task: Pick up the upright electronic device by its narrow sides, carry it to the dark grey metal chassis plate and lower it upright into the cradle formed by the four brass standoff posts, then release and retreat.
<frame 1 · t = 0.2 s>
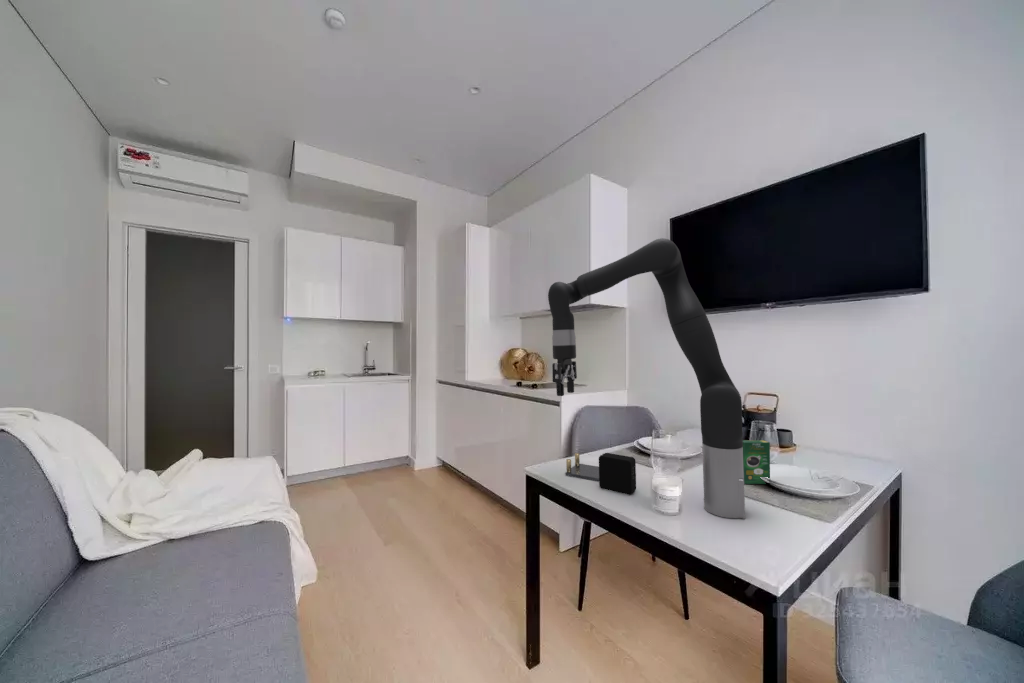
hand: (565, 394, 118), 28 cm above the table, fingers open, 8 cm apart
coffee box: (755, 483, 113), on the table
chassis: (592, 474, 124), on the table
electronic device: (617, 490, 111), on the table
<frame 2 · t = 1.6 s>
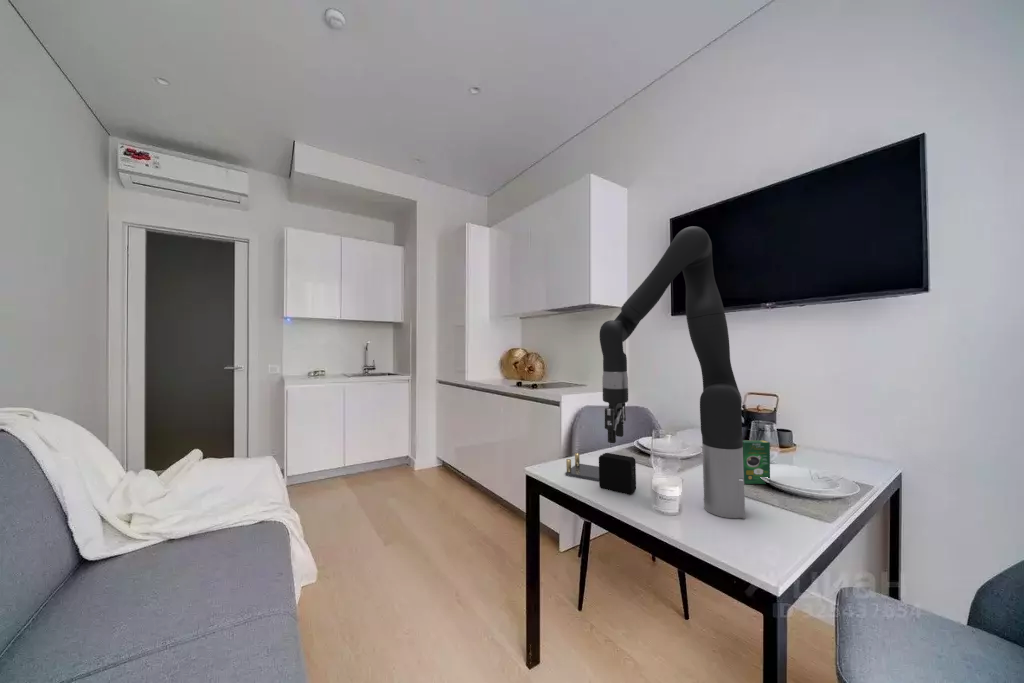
hand: (615, 439, 111), 15 cm above the table, fingers open, 8 cm apart
nothing on the table moved.
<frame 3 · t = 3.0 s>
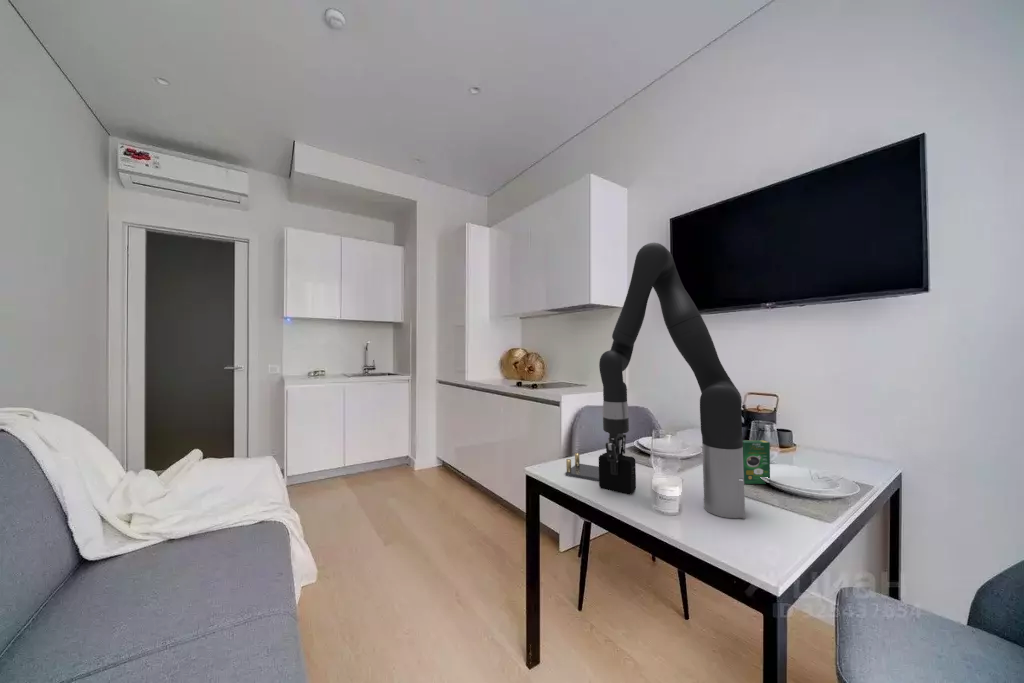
hand: (617, 471, 111), 5 cm above the table, fingers closed on electronic device, 4 cm apart
electronic device: (617, 490, 111), on the table, touching gripper
everything else where it was.
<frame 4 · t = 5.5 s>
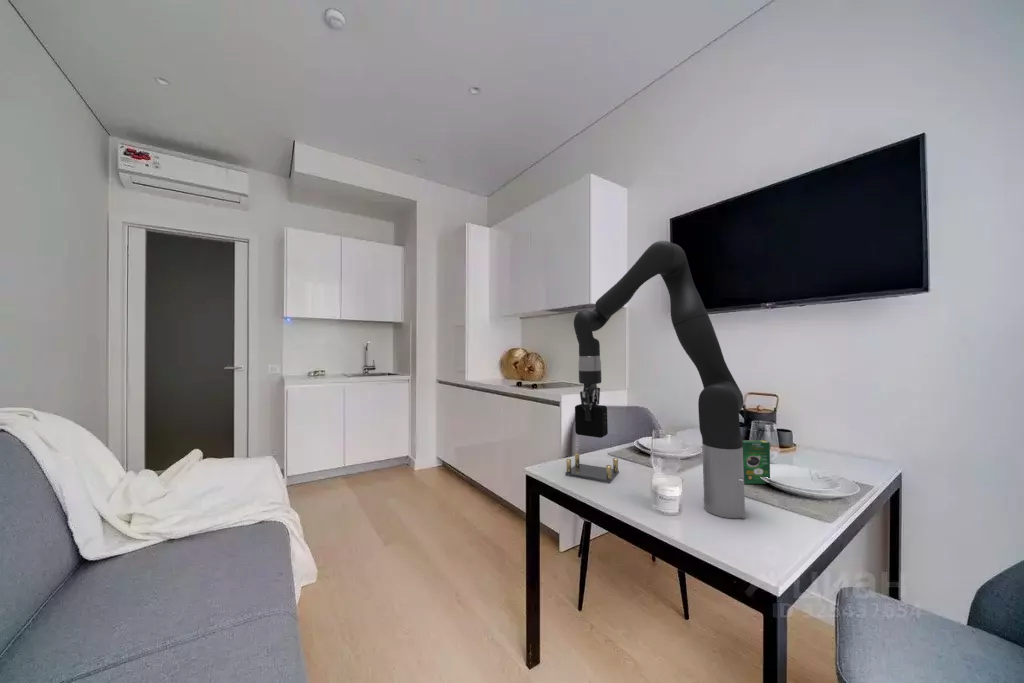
hand: (591, 419, 124), 19 cm above the table, fingers closed on electronic device, 4 cm apart
electronic device: (591, 435, 124), point 13 cm above the table, touching gripper
everything else where it was.
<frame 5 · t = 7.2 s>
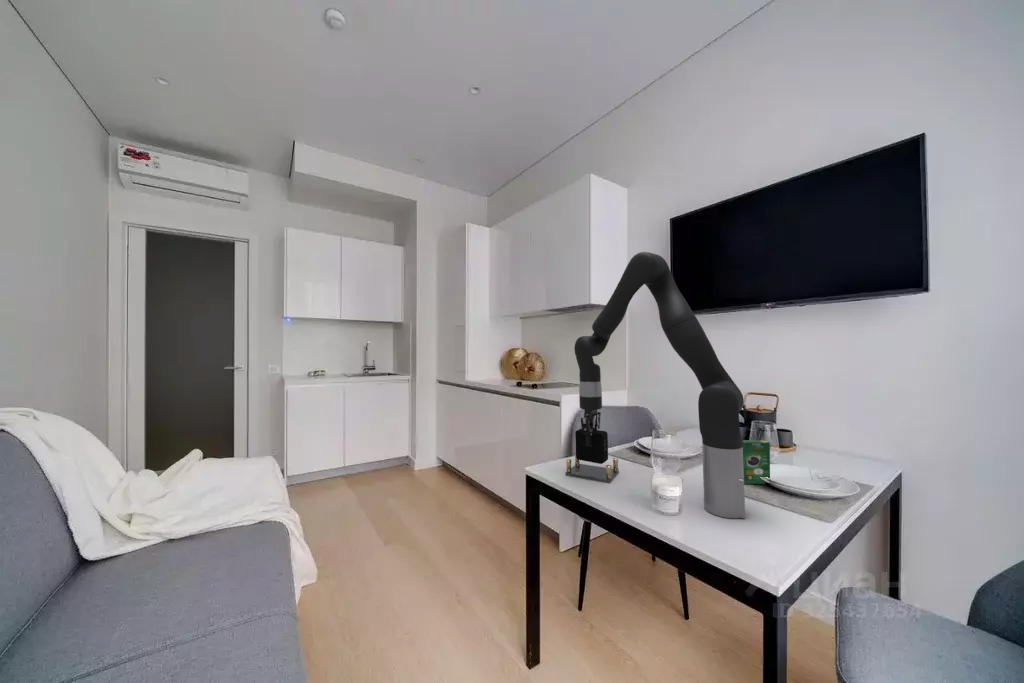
hand: (591, 444, 124), 10 cm above the table, fingers closed on electronic device, 4 cm apart
electronic device: (591, 460, 124), point 5 cm above the table, touching gripper
everything else where it was.
when the fingers open (8 cm above the table, at t = 8.3 s): electronic device drops 1 cm, resting on chassis.
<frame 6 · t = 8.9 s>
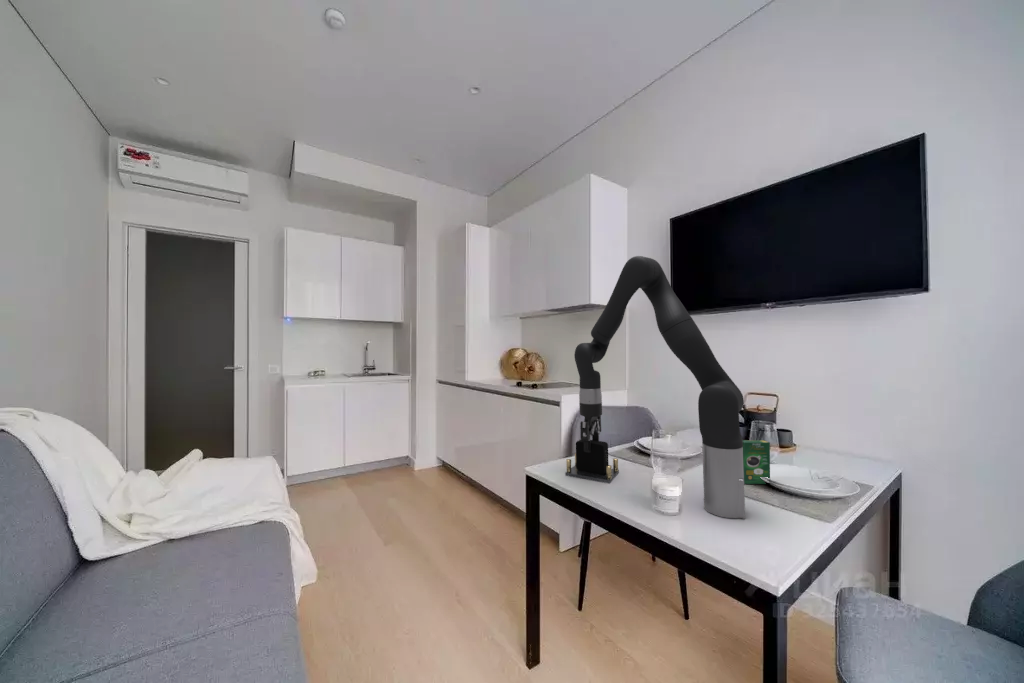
hand: (591, 448, 124), 9 cm above the table, fingers open, 8 cm apart
electronic device: (592, 471, 124), point 1 cm above the table, touching chassis
everything else where it was.
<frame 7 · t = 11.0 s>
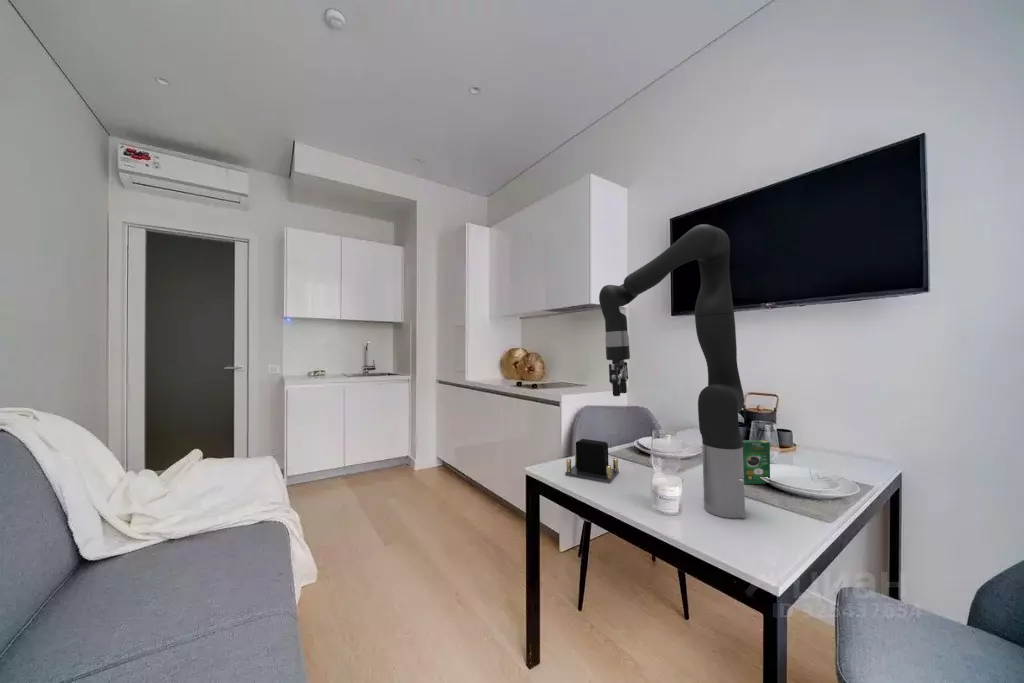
hand: (620, 394, 120), 27 cm above the table, fingers open, 8 cm apart
nothing on the table moved.
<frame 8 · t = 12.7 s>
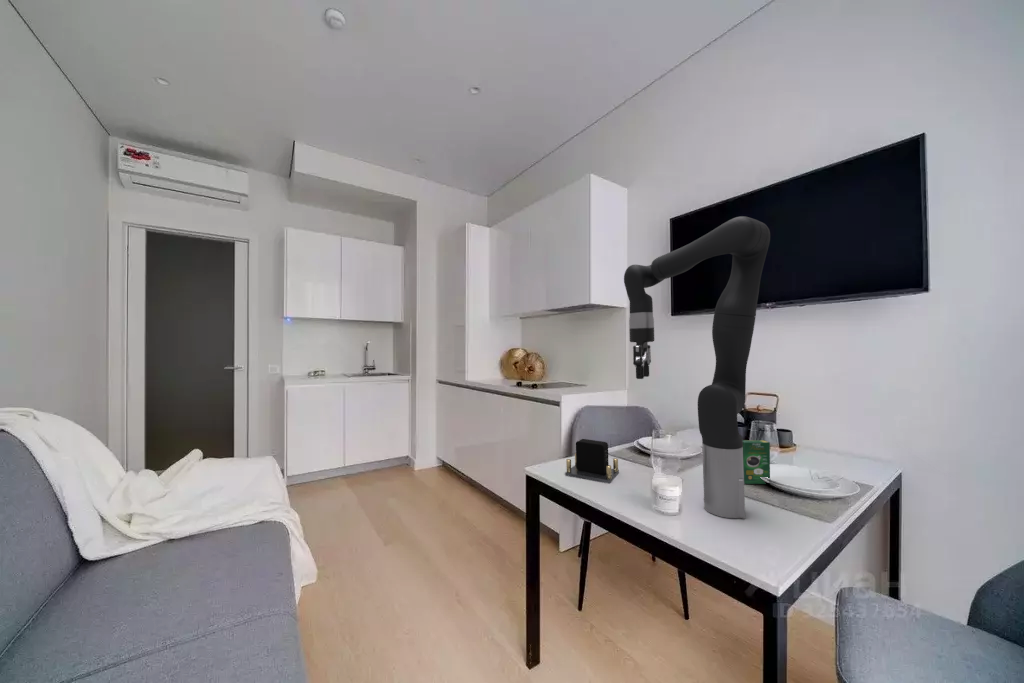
hand: (642, 377, 118), 33 cm above the table, fingers open, 8 cm apart
nothing on the table moved.
at the end: electronic device 0.1 cm off-centre on the chassis, point 0.8 cm above the chassis's base; electronic device tilted 0°; the gripper is holding nothing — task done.
